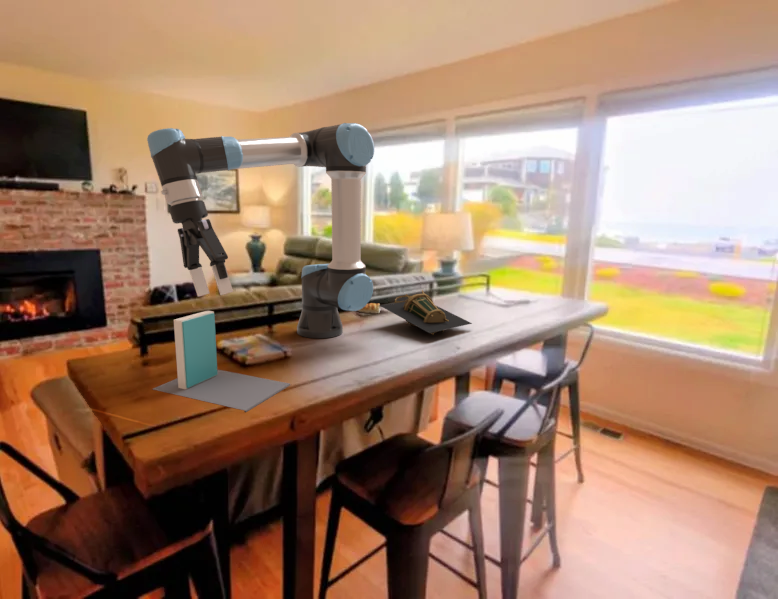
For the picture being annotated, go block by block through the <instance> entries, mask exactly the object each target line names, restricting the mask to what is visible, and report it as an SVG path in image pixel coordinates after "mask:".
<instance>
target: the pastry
mask: <svg viewBox="0 0 778 599" xmlns="http://www.w3.org/2000/svg"><path fill="white" fill-rule="evenodd" d="M379 305H381V304H380V303H375V302H370V303H369V302H368V303H367V304H366V306H365V307H363V308H362V309H360V310H357V311H358V312H359V313H365V314H376V315H377V314H380V313H381V312H380V311H381V306H379Z"/></svg>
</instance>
